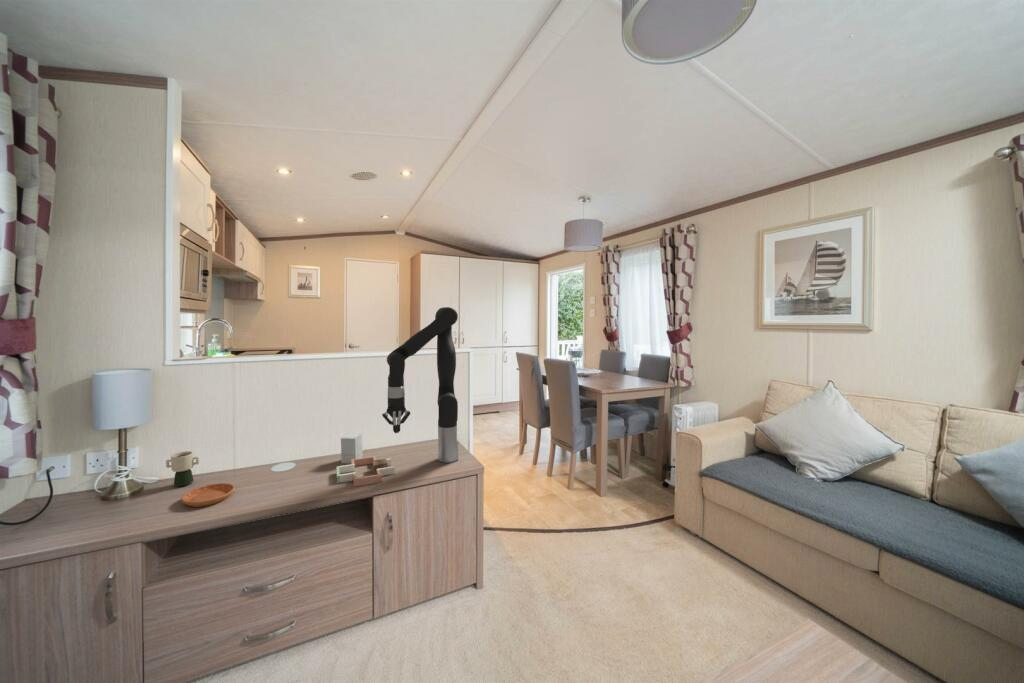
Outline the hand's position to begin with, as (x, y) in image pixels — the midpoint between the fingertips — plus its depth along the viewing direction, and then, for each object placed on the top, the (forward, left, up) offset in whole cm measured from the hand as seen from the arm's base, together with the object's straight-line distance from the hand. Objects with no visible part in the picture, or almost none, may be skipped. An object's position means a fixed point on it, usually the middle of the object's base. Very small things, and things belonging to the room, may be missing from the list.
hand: (396, 432), depth 177 cm
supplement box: (+19, -18, -17) cm, 31 cm away
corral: (+14, 0, -17) cm, 22 cm away
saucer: (+71, 0, -18) cm, 73 cm away
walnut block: (+8, 0, -17) cm, 19 cm away
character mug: (+84, -19, -17) cm, 87 cm away
